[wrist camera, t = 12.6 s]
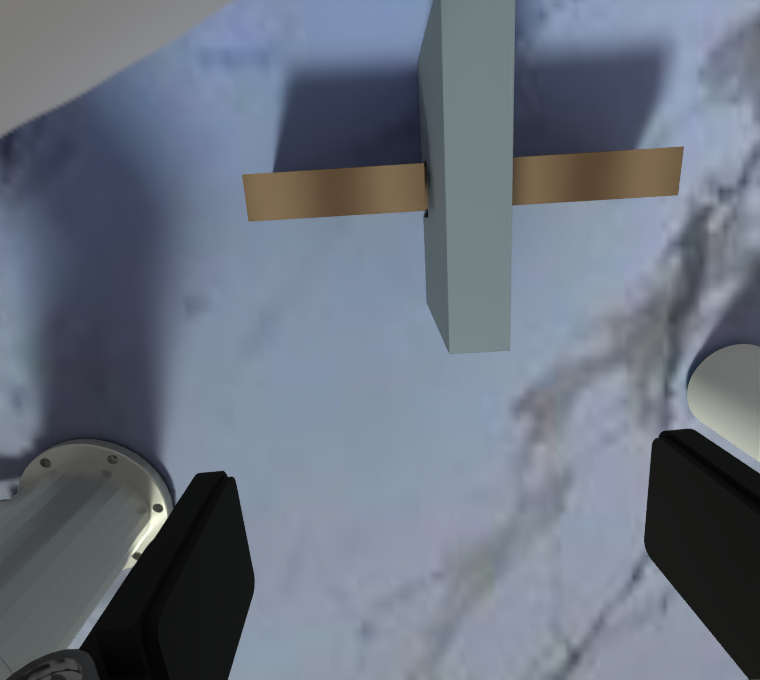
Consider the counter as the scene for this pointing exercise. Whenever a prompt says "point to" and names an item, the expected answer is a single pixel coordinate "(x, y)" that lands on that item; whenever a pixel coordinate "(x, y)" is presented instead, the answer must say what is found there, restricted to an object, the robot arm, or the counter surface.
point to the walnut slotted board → (409, 184)
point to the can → (729, 395)
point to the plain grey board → (468, 170)
